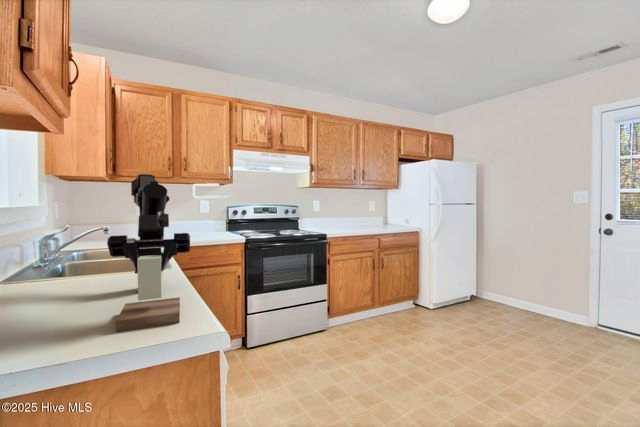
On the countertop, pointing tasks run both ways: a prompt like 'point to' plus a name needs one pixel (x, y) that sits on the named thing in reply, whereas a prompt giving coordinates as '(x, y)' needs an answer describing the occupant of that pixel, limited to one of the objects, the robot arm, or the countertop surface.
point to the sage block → (149, 277)
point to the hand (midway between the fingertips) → (149, 271)
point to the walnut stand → (148, 314)
